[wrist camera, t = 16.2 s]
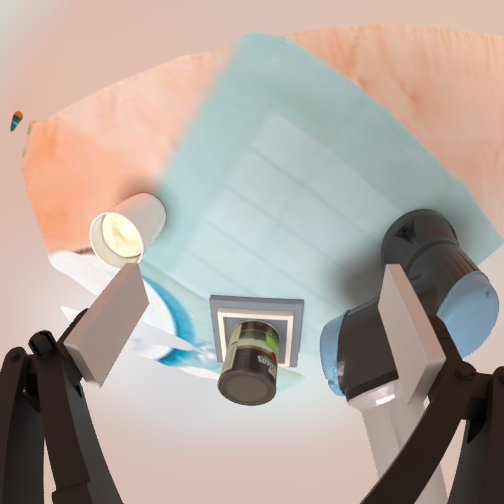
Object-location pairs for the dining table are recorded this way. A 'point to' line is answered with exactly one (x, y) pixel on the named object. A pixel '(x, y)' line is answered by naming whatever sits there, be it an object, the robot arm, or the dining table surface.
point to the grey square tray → (270, 310)
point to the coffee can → (251, 363)
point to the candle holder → (127, 230)
